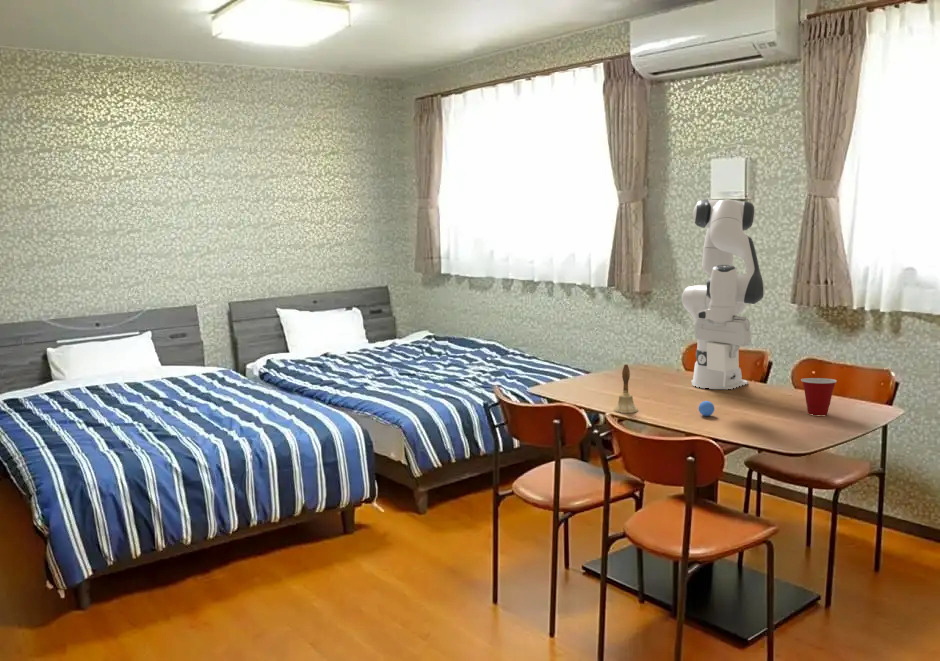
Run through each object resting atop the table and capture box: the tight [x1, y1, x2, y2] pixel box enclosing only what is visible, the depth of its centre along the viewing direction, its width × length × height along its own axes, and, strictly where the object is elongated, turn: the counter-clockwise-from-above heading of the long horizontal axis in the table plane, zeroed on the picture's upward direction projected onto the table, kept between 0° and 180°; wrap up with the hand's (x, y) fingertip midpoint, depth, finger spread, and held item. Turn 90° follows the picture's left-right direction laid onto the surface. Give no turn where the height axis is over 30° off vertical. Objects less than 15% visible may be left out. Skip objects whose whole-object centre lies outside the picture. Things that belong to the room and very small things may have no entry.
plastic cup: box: [800, 377, 837, 416], centre depth 270 cm, size 11×11×12 cm
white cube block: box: [707, 342, 740, 372], centre depth 273 cm, size 7×7×9 cm
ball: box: [698, 400, 715, 417], centre depth 271 cm, size 5×5×5 cm
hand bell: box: [613, 363, 639, 414], centre depth 280 cm, size 8×8×16 cm
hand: (721, 355), depth 272 cm, fingers closed on white cube block, 7 cm apart
